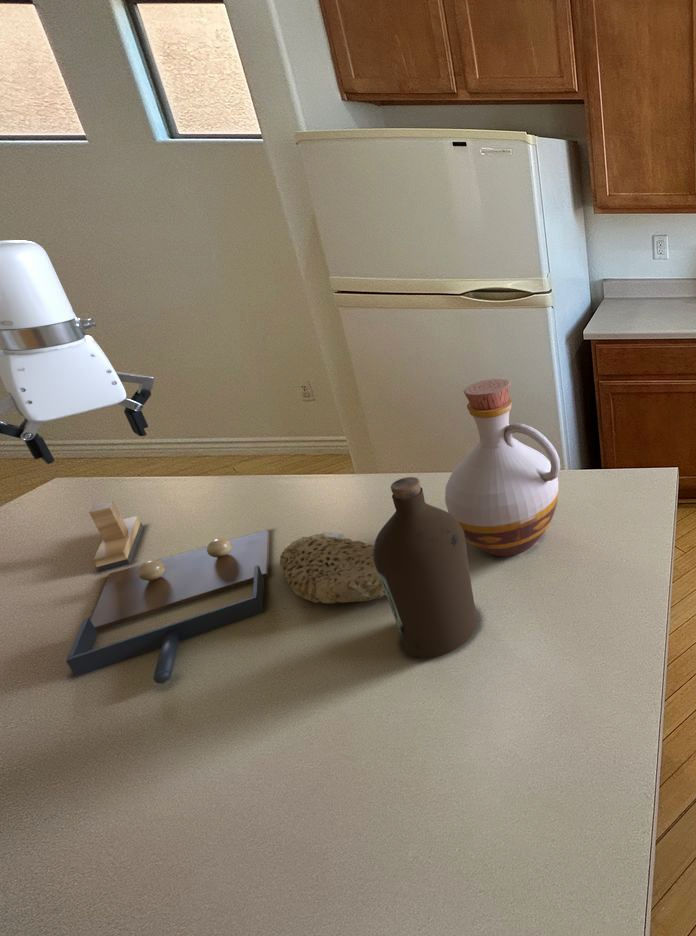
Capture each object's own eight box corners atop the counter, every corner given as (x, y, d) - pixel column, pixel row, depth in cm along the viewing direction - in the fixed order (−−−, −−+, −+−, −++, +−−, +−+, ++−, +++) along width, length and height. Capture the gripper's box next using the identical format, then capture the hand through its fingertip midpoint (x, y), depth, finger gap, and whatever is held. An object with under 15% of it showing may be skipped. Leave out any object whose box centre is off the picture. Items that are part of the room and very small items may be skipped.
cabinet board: (89, 636, 77) (85, 630, 76) (112, 579, 87) (109, 573, 87) (269, 579, 88) (266, 573, 87) (270, 534, 98) (268, 528, 98)
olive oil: (481, 597, 85) (452, 455, 75) (483, 649, 76) (451, 496, 66) (403, 617, 81) (362, 470, 71) (396, 675, 72) (347, 516, 62)
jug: (589, 519, 103) (575, 370, 92) (545, 586, 87) (521, 415, 76) (493, 508, 107) (468, 361, 95) (434, 569, 90) (394, 402, 79)
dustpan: (94, 636, 77) (83, 618, 76) (265, 581, 87) (258, 564, 86) (56, 732, 64) (43, 713, 63) (261, 655, 74) (254, 636, 73)
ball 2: (209, 563, 89) (203, 548, 88) (211, 553, 91) (205, 539, 90) (233, 556, 91) (227, 541, 90) (234, 547, 93) (228, 532, 92)
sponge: (277, 587, 88) (310, 631, 75) (271, 540, 87) (304, 576, 74) (370, 560, 98) (414, 594, 84) (366, 517, 97) (409, 545, 84)
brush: (131, 566, 90) (107, 520, 87) (100, 574, 88) (75, 528, 85) (144, 529, 99) (124, 486, 95) (117, 536, 97) (95, 493, 93)
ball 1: (140, 587, 84) (132, 572, 83) (143, 576, 86) (136, 561, 85) (166, 579, 86) (159, 564, 85) (169, 568, 88) (162, 553, 87)
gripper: (119, 317, 83) (163, 419, 90) (-69, 347, 69) (-1, 465, 76) (138, 325, 80) (182, 430, 87) (-57, 358, 66) (14, 480, 73)
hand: (96, 446), depth 81 cm, fingers open, 9 cm apart
